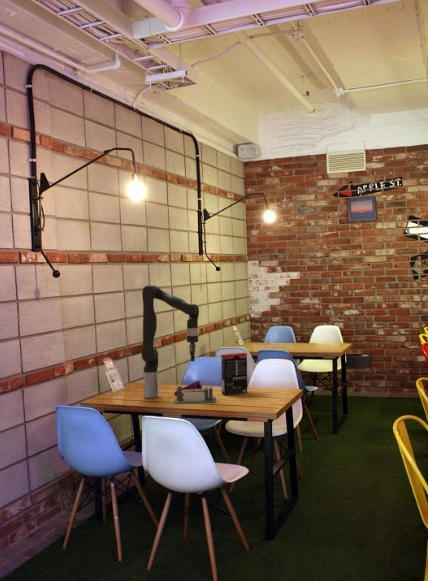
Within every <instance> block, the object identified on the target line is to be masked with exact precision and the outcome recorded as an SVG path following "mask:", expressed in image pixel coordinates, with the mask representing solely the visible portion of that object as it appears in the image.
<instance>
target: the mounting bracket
mask: <svg viewBox="0 0 428 581" xmlns="http://www.w3.org/2000/svg"><path fill="white" fill-rule="evenodd" d="M191 389H203V386H202V384H201V382H200V380H197V381H194V382H192V383H190V384H188V385H186V386H184V387H182V390H191ZM173 393H174V395H175V396H177V390H175V391H173Z"/></svg>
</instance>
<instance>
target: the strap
mask: <svg viewBox="0 0 428 581" xmlns="http://www.w3.org/2000/svg"><path fill="white" fill-rule="evenodd" d="M205 387H206V388H207V391H208V392H209V386H205ZM194 391H204V388H202V389H191V390H181V392H182V393H185V392H194Z"/></svg>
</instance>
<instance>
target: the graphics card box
mask: <svg viewBox="0 0 428 581" xmlns="http://www.w3.org/2000/svg"><path fill="white" fill-rule="evenodd" d="M220 360H221V361H220V362H221V365H220V366H221V394H222V395H224V396H231V395H239V394H248V353H246V352H236V353H228V354H227V353H226V354H221V357H220Z"/></svg>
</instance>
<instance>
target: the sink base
mask: <svg viewBox="0 0 428 581" xmlns="http://www.w3.org/2000/svg"><path fill="white" fill-rule="evenodd" d="M206 387H207V386H204V388H203V389H204V391H194V392H181V390H182V388H183V387H182V385H181V386H177V387H176V391H177V395H176V398H175V399H174V400H173V404H174V403H179V404H180V403H183V404H215V402H216V399H217V397H216V396H214V394H213V392H214V390H213V387H209V386H208V391H207V388H206ZM183 394H184V395H183ZM183 396H184V397H183Z"/></svg>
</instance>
